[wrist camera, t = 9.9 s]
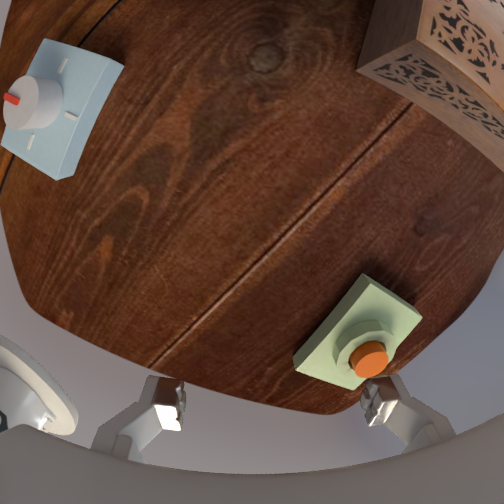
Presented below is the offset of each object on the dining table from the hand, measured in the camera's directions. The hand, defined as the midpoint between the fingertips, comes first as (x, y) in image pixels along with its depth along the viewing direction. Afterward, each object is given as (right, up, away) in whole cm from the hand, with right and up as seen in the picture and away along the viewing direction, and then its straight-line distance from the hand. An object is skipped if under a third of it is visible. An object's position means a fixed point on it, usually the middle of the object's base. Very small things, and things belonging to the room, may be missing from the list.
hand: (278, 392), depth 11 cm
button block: (+10, -3, +18) cm, 21 cm away
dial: (-19, +19, +5) cm, 27 cm away
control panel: (-19, +20, +8) cm, 28 cm away
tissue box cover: (+22, +24, +8) cm, 34 cm away
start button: (+10, -4, +15) cm, 18 cm away
